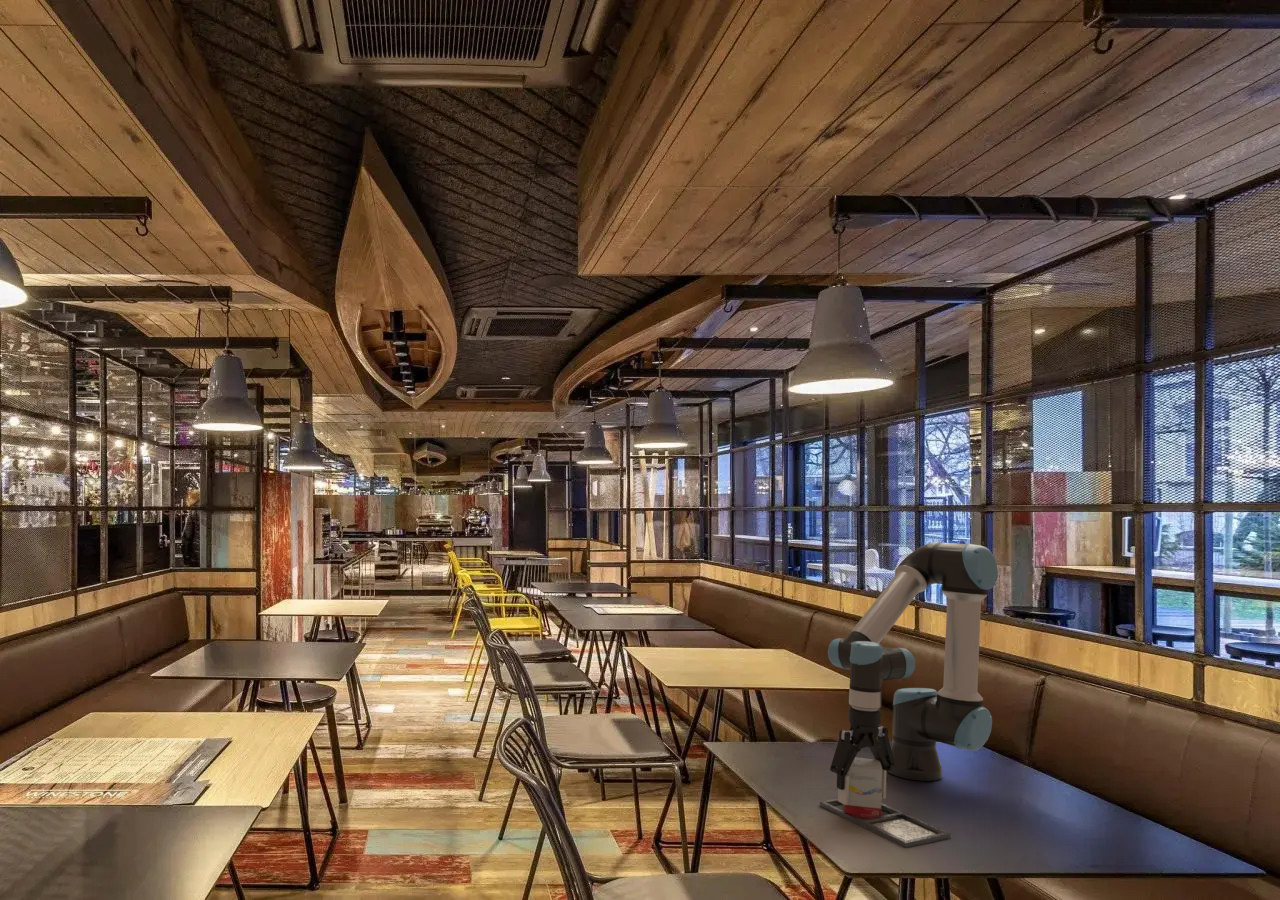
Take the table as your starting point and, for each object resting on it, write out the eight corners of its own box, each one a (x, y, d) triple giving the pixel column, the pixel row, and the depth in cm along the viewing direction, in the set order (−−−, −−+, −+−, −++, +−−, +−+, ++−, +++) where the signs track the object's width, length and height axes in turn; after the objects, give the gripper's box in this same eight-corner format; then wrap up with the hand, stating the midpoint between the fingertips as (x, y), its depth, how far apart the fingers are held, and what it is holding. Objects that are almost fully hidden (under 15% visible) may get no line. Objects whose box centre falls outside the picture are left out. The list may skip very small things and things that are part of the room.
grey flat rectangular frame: (862, 798, 206) (862, 794, 206) (950, 837, 183) (950, 833, 183) (819, 805, 199) (819, 801, 199) (905, 847, 176) (905, 843, 176)
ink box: (881, 820, 191) (883, 768, 192) (844, 815, 193) (845, 764, 194) (878, 807, 200) (880, 758, 201) (842, 803, 202) (844, 754, 203)
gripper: (888, 700, 208) (886, 788, 206) (816, 707, 196) (813, 800, 194) (911, 707, 201) (909, 798, 199) (838, 714, 189) (835, 811, 188)
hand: (862, 799), depth 197 cm, fingers closed on ink box, 11 cm apart
